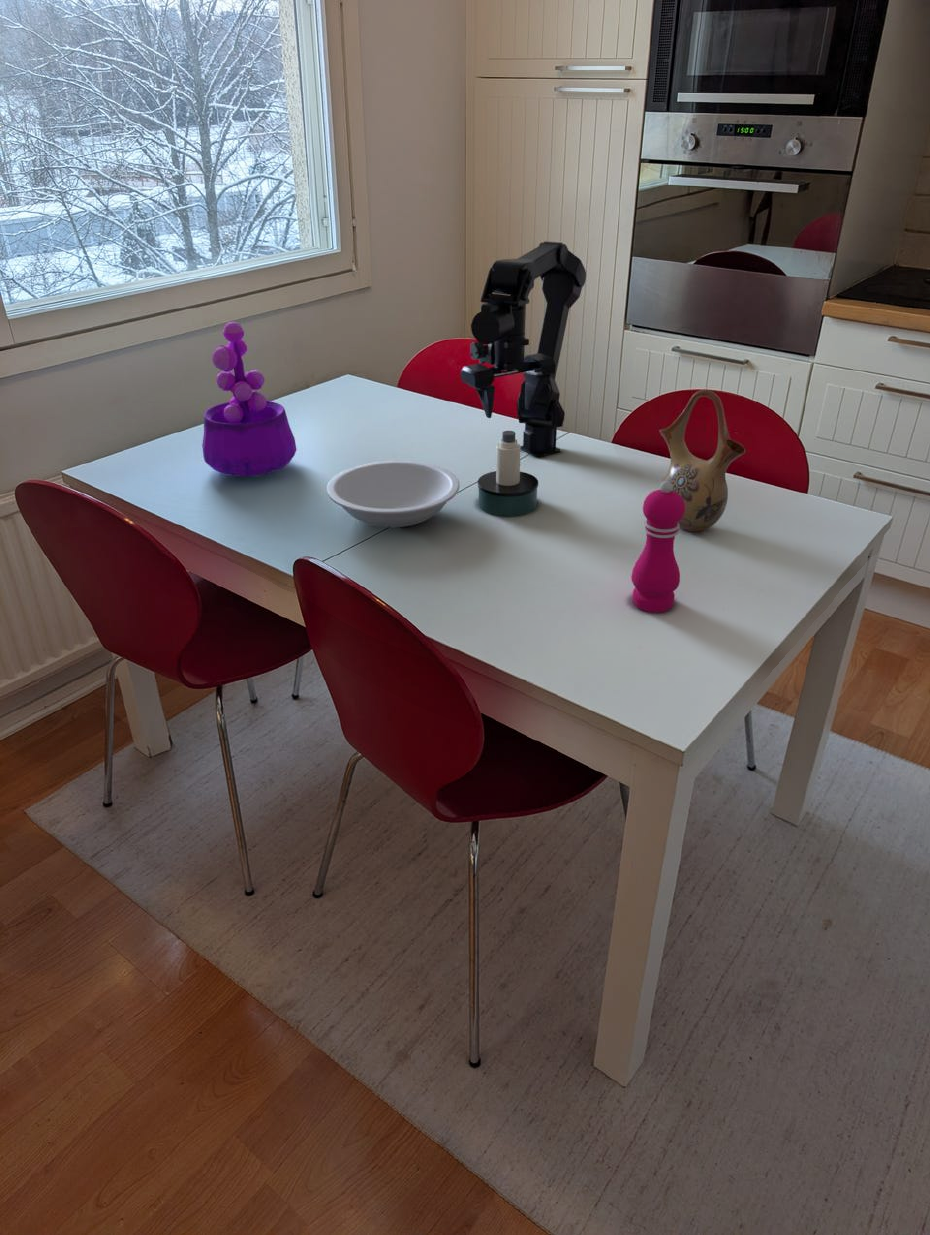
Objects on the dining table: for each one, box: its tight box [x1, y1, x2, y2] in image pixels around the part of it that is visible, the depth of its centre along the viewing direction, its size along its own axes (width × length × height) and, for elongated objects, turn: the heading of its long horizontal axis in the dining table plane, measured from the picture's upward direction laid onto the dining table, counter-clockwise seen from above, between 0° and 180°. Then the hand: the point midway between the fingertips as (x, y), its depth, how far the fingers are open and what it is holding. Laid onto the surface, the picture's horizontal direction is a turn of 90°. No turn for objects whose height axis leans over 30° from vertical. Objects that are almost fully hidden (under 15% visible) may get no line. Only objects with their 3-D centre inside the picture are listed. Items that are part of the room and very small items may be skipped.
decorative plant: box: [201, 321, 298, 477], centre depth 178 cm, size 19×18×30 cm
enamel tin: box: [477, 470, 539, 517], centre depth 168 cm, size 11×11×5 cm
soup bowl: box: [326, 460, 461, 528], centre depth 163 cm, size 24×24×7 cm
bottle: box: [495, 430, 522, 486], centre depth 165 cm, size 4×4×10 cm
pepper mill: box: [630, 481, 685, 613], centre depth 132 cm, size 7×7×20 cm
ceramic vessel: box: [658, 389, 747, 533], centre depth 154 cm, size 16×9×25 cm, turn 45°
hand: (508, 413), depth 175 cm, fingers open, 9 cm apart
